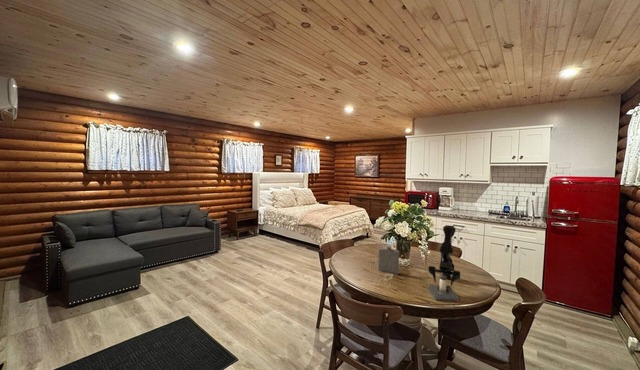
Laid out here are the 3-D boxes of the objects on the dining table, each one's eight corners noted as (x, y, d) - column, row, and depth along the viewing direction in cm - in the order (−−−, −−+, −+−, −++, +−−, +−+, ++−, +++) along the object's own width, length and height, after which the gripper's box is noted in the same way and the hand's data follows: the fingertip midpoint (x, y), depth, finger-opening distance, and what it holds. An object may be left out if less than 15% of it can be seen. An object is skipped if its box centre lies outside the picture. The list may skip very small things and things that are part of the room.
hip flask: (377, 270, 210) (378, 245, 209) (378, 268, 214) (379, 244, 212) (398, 274, 203) (399, 248, 202) (398, 272, 207) (399, 247, 206)
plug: (437, 294, 171) (438, 275, 170) (441, 293, 172) (442, 274, 172) (442, 297, 167) (443, 277, 166) (447, 296, 169) (448, 276, 168)
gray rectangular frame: (428, 290, 177) (429, 284, 177) (449, 291, 176) (449, 285, 175) (435, 299, 164) (435, 293, 164) (457, 301, 163) (457, 294, 162)
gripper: (429, 253, 177) (426, 275, 168) (461, 259, 168) (459, 282, 159) (430, 261, 184) (427, 283, 176) (460, 267, 175) (459, 290, 166)
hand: (442, 284), depth 169 cm, fingers open, 9 cm apart
